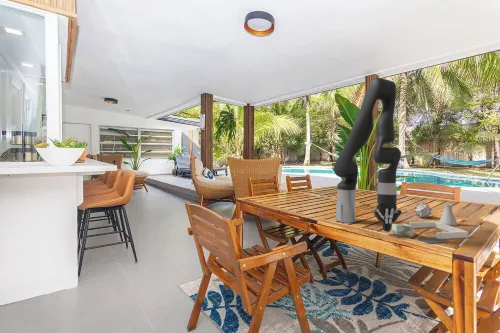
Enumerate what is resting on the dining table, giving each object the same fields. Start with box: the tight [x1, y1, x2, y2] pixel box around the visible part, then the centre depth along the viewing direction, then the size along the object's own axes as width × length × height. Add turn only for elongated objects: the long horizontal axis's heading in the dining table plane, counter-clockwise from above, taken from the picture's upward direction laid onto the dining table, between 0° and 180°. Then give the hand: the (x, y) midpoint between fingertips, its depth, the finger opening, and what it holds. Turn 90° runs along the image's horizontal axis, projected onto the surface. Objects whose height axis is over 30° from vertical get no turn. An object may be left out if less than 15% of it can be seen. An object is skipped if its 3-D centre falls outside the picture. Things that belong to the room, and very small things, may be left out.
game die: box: [413, 202, 433, 219], centre depth 139 cm, size 9×8×10 cm
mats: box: [391, 224, 448, 245], centre depth 112 cm, size 8×26×1 cm, turn 4°
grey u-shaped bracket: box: [408, 220, 469, 240], centre depth 113 cm, size 14×17×2 cm
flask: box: [438, 203, 459, 227], centre depth 125 cm, size 7×7×10 cm
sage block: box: [391, 223, 414, 237], centre depth 112 cm, size 6×6×4 cm
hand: (386, 231), depth 111 cm, fingers closed
